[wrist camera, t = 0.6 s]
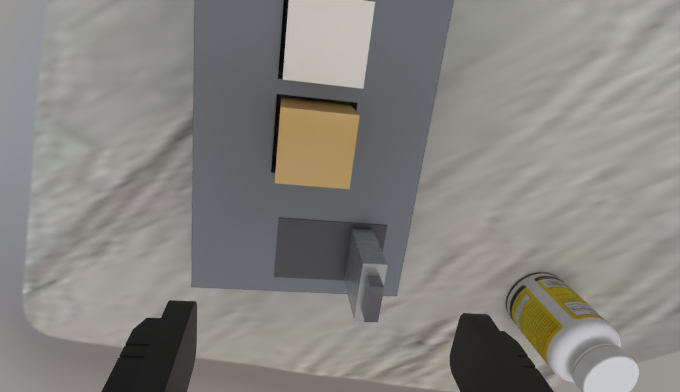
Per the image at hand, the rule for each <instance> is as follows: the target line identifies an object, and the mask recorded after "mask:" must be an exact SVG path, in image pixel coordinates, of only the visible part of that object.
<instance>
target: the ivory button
mask: <svg viewBox="0 0 680 392" xmlns="http://www.w3.org/2000/svg"><path fill="white" fill-rule="evenodd" d="M374 8H375V2H373V1H366V0H289V3H288V16H287V29H286V42H285V55H284V68H283V80H291V81H300V82H309V83H318V84H326V85H335V86H344V87H353V88H361V89H363V88H364V80H365V73H366V66H367V59H368V51H369V44H370V37H371V29H372V22H373V15H374Z"/></svg>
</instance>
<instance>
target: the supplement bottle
mask: <svg viewBox="0 0 680 392" xmlns="http://www.w3.org/2000/svg"><path fill="white" fill-rule="evenodd" d="M507 309H508V313H509V315H510V317H511V319H512V320H513V321H514V323H515V324H516V325H517V327H518V328H519V329H520V330H521V332H522V333H523V334H524V335H525V337H526V338H527V339H528V341H529V342H530V343H531V344H532V345H533V347H534V348H535V349H536V350H537V352H538V353H539V354H540V355H541V357H542V358H543V359H544V360H545V362H546V363H547V364H548V366H549V367H550V368H551V369H552V370H553V371H554V373H555V374H556V375H558V376H559V377H560V378H562V379H564V380H566V381H569V382H574V383H575V384H576V386H577V387H578V388H579V389H580V390H581V391H582V392H629V391H630V390H631V389H632V388H633V387H634V386H635V384H636V382H637V380H638V376H639V369H638V366H637V364H636V362H635V361H634V360H633V359H632V358H631V357H630V356H629V355H628V354H627V353H626V352H625V351H624V350H622V349H621V342H620V338H619V335H618V334H617V332H616V330H615V329H614V328H613V327H612V326H611V325H610V324H609V323H608V322H607V321H606V320H605V319H604V318H602V317H601V316H600V315H599V314H598V313H597V312H596V311H595V310H594V309H593V308H591V307H590V306H589V305H588V304H587V303H586V302H585V301H584V300H583V299H581V298H580V297H579V296H578V295H577V294H576V293H575V292H574V291H573V290H572V289H570V288H569V287H568V286H567V285H566V284H565V283H564V282H563V281H561V280H560V279H559V278H557V277H555V276H553V275H550V274H544V273H540V274H534V275H531V276H529V277H527V278H525V279H523V280H522V281H520V282H519V283H518V284H517V285H516V286H515V287H514V288H513V290H512V291H511V293H510V295H509V297H508V302H507Z"/></svg>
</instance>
